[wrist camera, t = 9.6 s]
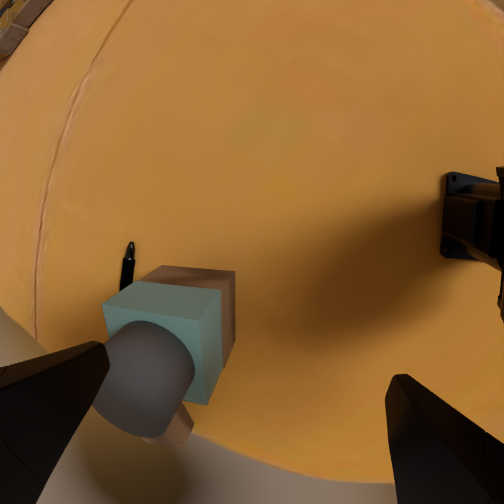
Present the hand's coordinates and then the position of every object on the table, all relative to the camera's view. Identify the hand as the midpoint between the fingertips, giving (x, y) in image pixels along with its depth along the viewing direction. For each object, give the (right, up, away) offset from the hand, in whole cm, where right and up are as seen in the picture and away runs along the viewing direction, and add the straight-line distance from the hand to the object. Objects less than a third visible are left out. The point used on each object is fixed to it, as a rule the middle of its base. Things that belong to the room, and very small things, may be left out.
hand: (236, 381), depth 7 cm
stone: (-5, -2, +7) cm, 9 cm away
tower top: (-5, -1, +11) cm, 12 cm away
